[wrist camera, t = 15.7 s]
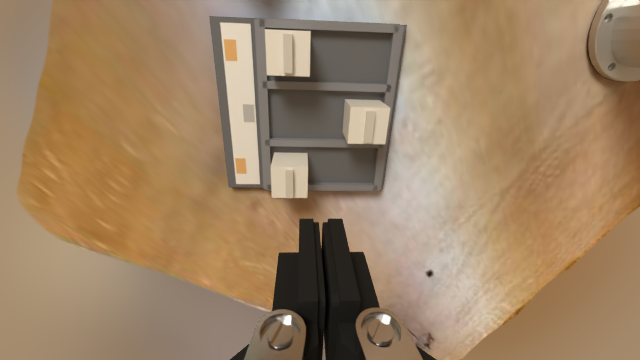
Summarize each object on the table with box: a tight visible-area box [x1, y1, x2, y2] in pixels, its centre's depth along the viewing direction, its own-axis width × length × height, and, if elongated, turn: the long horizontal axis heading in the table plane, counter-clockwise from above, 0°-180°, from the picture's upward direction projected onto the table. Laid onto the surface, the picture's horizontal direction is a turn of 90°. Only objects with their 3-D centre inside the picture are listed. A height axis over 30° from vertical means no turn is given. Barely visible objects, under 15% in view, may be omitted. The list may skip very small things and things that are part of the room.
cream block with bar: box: [265, 29, 311, 77], centre depth 28 cm, size 4×4×5 cm
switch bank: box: [210, 16, 407, 191], centre depth 33 cm, size 20×19×2 cm
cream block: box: [271, 152, 308, 198], centre depth 33 cm, size 4×4×5 cm
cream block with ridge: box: [343, 99, 390, 144], centre depth 31 cm, size 4×4×5 cm
